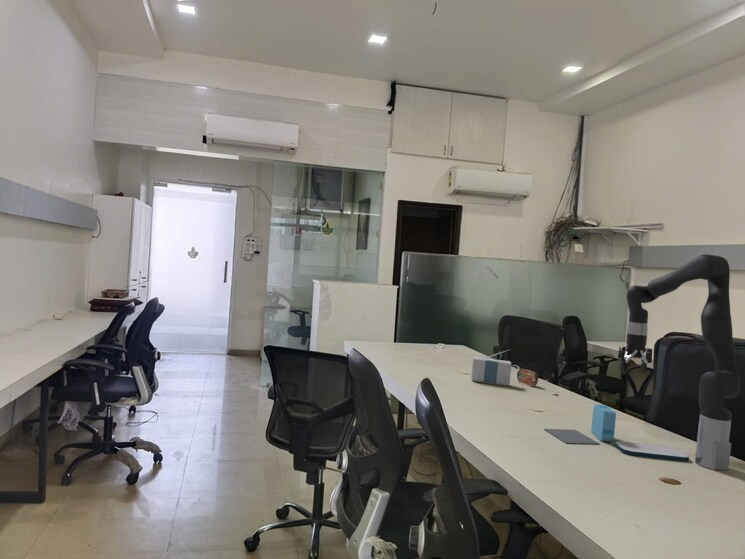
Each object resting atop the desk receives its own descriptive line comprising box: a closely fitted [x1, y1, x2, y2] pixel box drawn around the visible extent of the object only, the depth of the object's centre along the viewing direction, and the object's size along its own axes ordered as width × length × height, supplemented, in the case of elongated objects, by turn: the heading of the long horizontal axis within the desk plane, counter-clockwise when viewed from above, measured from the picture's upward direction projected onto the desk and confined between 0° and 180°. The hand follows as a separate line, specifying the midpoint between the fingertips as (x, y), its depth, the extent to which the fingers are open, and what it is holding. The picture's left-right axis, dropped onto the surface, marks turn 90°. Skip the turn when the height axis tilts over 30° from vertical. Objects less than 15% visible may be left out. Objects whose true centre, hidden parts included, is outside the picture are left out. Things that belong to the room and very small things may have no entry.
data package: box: [590, 403, 617, 443], centre depth 205 cm, size 12×4×12 cm, turn 175°
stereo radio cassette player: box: [470, 349, 512, 387], centre depth 292 cm, size 21×8×20 cm, turn 73°
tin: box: [516, 368, 539, 387], centre depth 298 cm, size 15×3×8 cm, turn 25°
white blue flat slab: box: [614, 441, 690, 463], centre depth 191 cm, size 24×12×2 cm, turn 86°
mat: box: [543, 428, 600, 445], centre depth 203 cm, size 16×14×1 cm
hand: (633, 372), depth 218 cm, fingers open, 8 cm apart
